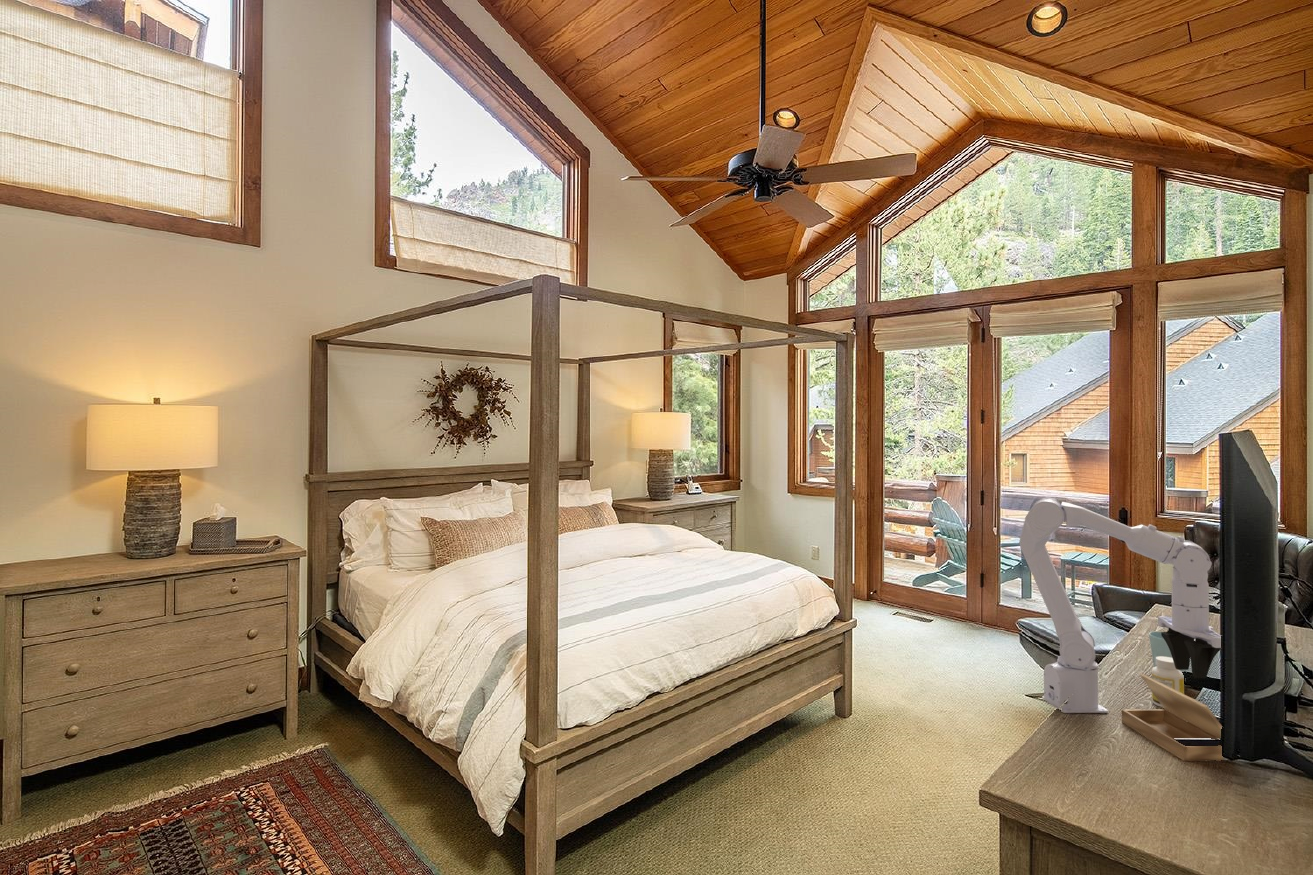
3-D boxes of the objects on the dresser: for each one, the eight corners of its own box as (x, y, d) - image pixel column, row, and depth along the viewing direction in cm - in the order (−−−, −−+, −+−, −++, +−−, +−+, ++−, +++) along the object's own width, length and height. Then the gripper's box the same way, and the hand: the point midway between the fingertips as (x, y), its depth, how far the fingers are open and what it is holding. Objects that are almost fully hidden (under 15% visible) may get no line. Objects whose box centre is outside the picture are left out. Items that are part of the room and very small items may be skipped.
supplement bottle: (1173, 700, 143) (1172, 655, 143) (1190, 710, 138) (1190, 663, 138) (1146, 699, 143) (1145, 654, 143) (1162, 710, 138) (1162, 663, 138)
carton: (1184, 761, 117) (1184, 746, 117) (1121, 721, 133) (1121, 709, 133) (1233, 760, 117) (1233, 746, 117) (1164, 721, 133) (1164, 709, 133)
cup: (1200, 686, 151) (1199, 640, 151) (1168, 687, 150) (1167, 641, 150) (1171, 674, 158) (1171, 630, 158) (1141, 675, 158) (1141, 631, 158)
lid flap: (1204, 707, 117) (1207, 705, 117) (1139, 674, 133) (1141, 673, 133) (1232, 746, 117) (1235, 744, 117) (1164, 708, 133) (1166, 707, 133)
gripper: (1242, 613, 123) (1243, 686, 123) (1181, 595, 138) (1182, 660, 138) (1204, 614, 123) (1205, 687, 123) (1147, 595, 138) (1148, 660, 138)
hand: (1190, 673), depth 131 cm, fingers open, 4 cm apart
